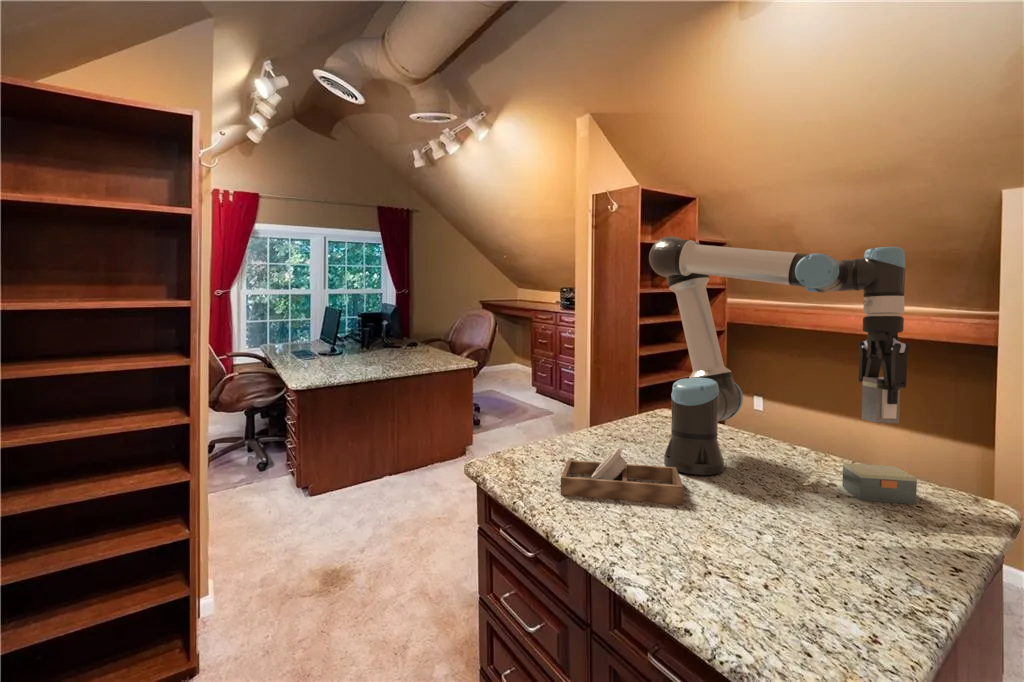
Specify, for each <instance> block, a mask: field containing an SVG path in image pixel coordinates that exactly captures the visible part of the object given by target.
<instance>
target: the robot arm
mask: <svg viewBox="0 0 1024 682" xmlns="http://www.w3.org/2000/svg"><path fill="white" fill-rule="evenodd" d="M648 261H649V265H650V267H651V269H652V270H653V271H654V273H656V274H657V275H659V276H661V277H664V278H666V281H667V286H668V290H670V291H671V292H672V293H674V294H675V296H676V301H677V305H678V310H679V314H680V320H681V322H682V328H683V331H684V332H683V333H684V337H685V341H686V345H687V350H688V356H689V359H690V363H691V368H692V372H691V374H690V375H689V378H681V379H677V380H676V381H675V382H673V384H672V390H671V394H670V395H671V421H670V422H671V425H670V426H671V427H670V428H671V429H670V431H671V434H670V437H669V438H670V439H669V442H668V444H667V447H666V450H665V452H664V456H663V464H664V465H663V466H664V467H676V469H677V472H678V473H679V472H681V473H684V474H690V475H691V474H692V475H701V476H702V475H716V474H717V475H718V474H721V473H722V472H724V470H725V462H724V461H725V459H724V457H723V454H722V451H721V448H720V445H719V441H718V429H719V427H718V425H719V423H718V422H721V421H727V420H730V419H731V418H733V417H734V416H735V415H737V414H738V412H740V409H741V408H742V406H743V403H744V400H743V399H744V397H743V392H742V389H741V388H740V386H739V385H738V384H737V383H736V382H735V381H734V378H733V373H732V370H730V369H729V368H727V367H726V366H725V364H724V361H723V360H724V359H723V357H722V356H723V355H722V351H721V347H720V343H719V338H718V335H717V330H716V326H715V321H714V317H713V313H712V307H711V303H710V300H709V296H708V291H707V284H708V283H709V281H710V276H713V277H723V278H731V279H738V280H739V279H740V280H747V281H754V282H755V281H756V282H762V283H768V284H769V283H771V284H778V285H779V284H780V285H785V286H794V287H801V288H805V289H806V291H807V292H809V293H821V294H822V293H829V292H847V291H848V292H849V291H851V292H853V291H856V292H859V291H863V296H862V297H863V302H862V304H863V306H862V307H863V310H862V311H863V314H864V315H866V316H864V317H863V318H862V332H864V333H867V337H866V340H863V341H861V340H860V341H858V342H857V346H858V352H859V353H858V355H859V357H858V382H860V383H862V382H863V377H880V371H881V367H882V377H884V382H885V387H882V416H881V418H895V419H896V411H897V402H898V400H897V399H898V390H899V389H900V390H901V389H905V388H907V381H908V380H907V376H908V373H907V371H908V370H907V369H908V353H909V349H910V344H909V343H907V342H905V343H904V342H902V341H900V339H899V333H902V332H903V333H904V329H905V327H904V325H905V324H904V323H905V319H904V318H905V317H904V316H902V314H905V288H906V287H905V286H906V271H907V270H906V269H907V267H906V252H905V249H904V248H902V247H899V246H883V247H874V248H873V247H872V248H868V249H866V250H865V251H864V254H863V257H860V258H855V259H854V258H853V259H852V258H851V259H841V260H840V259H839V260H838V259H836V258H834V257H833V256H831V255H828V254H826V253H817V252H815V253H798V252H790V251H777V250H765V249H757V248H756V249H755V248H754V249H753V248H741V247H733V246H732V247H731V246H729V247H728V246H719V245H718V246H717V245H709V244H708V245H707V244H700V243H699V242H697V241H695V240H693V239H692V240H691V239H683V238H682V237H681V238H680V237H678V236H672V235H671V236H664V237H662V238H660V239H658V240H657V241H656V242H654V244H653V245H652V247H651V248H650V251H649V254H648Z"/></svg>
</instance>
